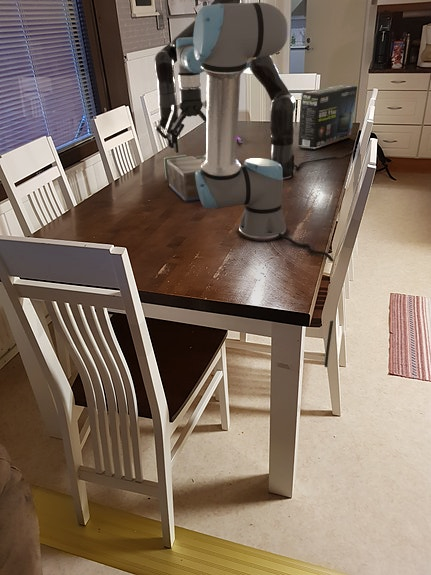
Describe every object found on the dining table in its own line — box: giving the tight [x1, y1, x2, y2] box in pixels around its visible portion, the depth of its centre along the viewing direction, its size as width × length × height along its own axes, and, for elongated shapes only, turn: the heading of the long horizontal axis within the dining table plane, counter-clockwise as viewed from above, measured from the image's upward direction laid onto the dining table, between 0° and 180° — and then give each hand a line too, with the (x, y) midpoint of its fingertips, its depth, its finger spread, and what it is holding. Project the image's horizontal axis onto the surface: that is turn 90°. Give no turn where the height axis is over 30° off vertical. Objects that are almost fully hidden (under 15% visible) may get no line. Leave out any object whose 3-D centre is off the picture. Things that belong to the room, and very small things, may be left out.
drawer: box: [163, 154, 188, 181], centre depth 192 cm, size 26×10×9 cm, turn 22°
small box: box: [167, 155, 202, 203], centre depth 183 cm, size 21×11×11 cm, turn 22°
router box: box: [297, 84, 358, 151], centre depth 238 cm, size 36×11×27 cm, turn 134°
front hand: (193, 149), depth 171 cm, fingers open, 13 cm apart
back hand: (171, 147), depth 197 cm, fingers closed
